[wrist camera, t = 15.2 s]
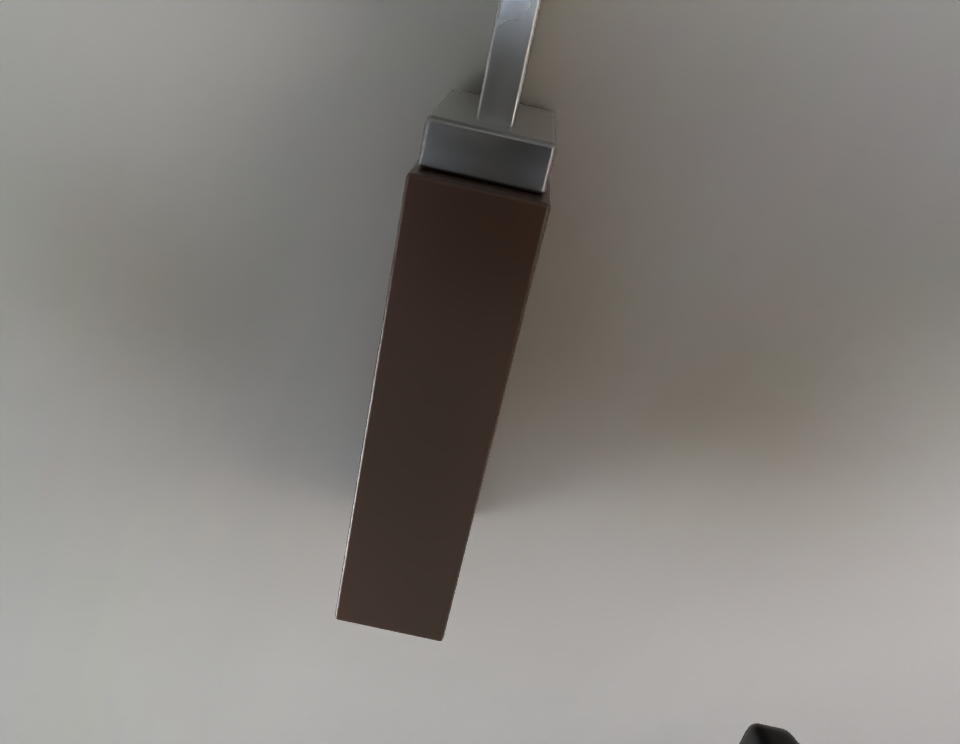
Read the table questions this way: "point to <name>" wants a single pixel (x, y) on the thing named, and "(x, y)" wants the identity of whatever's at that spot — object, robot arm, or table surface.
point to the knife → (448, 339)
